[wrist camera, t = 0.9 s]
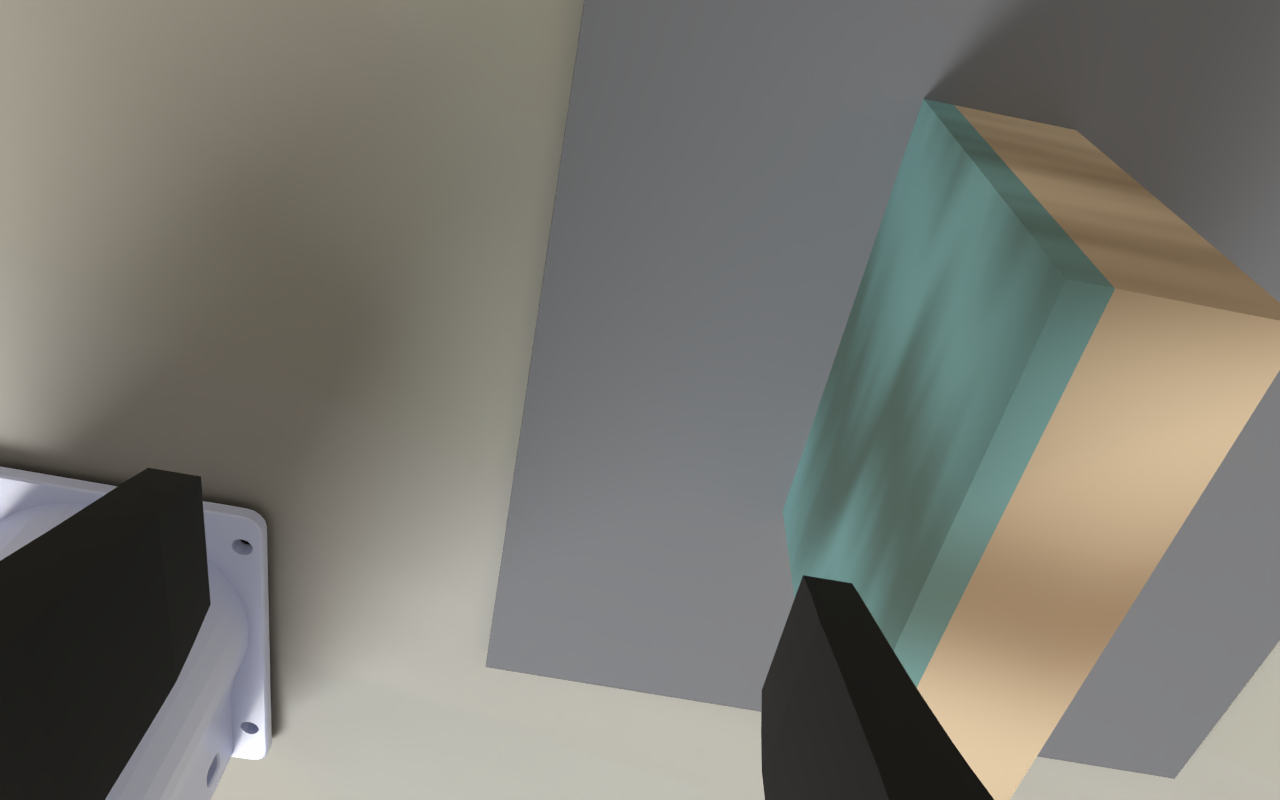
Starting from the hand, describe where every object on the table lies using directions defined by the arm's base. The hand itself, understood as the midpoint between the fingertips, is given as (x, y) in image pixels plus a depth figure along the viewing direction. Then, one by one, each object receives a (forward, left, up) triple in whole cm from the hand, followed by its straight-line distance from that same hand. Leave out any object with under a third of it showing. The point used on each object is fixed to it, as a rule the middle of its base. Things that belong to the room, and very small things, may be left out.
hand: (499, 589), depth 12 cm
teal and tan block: (0, -7, -10) cm, 12 cm away
